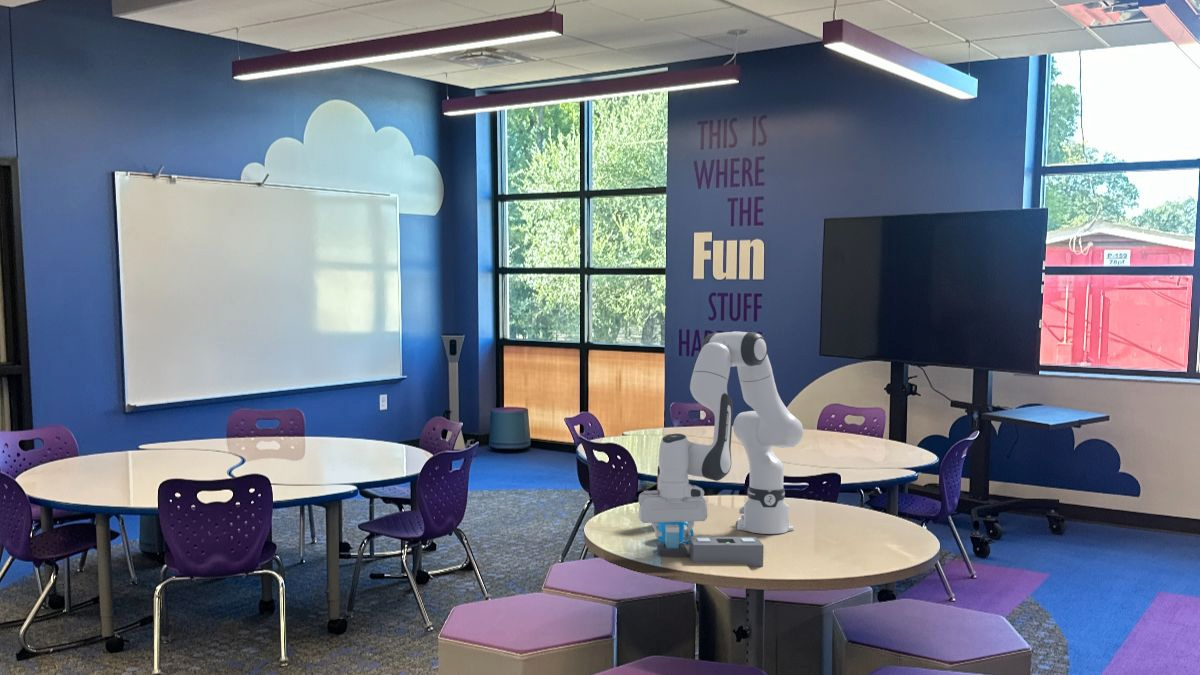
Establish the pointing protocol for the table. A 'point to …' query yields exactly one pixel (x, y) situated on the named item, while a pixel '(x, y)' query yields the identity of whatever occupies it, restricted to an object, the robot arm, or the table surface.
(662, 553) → the holster
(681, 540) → the mug
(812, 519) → the table surface
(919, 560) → the table surface
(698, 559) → the panel
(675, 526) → the plug
